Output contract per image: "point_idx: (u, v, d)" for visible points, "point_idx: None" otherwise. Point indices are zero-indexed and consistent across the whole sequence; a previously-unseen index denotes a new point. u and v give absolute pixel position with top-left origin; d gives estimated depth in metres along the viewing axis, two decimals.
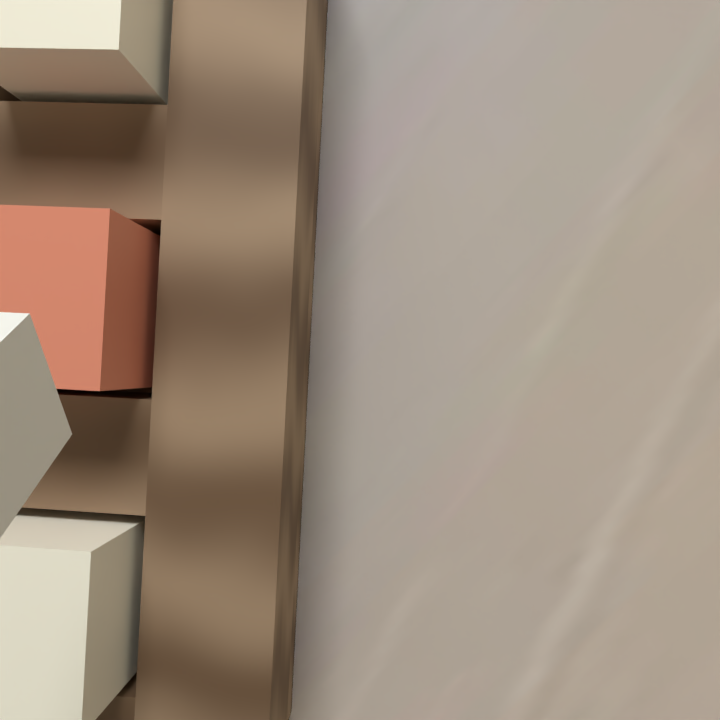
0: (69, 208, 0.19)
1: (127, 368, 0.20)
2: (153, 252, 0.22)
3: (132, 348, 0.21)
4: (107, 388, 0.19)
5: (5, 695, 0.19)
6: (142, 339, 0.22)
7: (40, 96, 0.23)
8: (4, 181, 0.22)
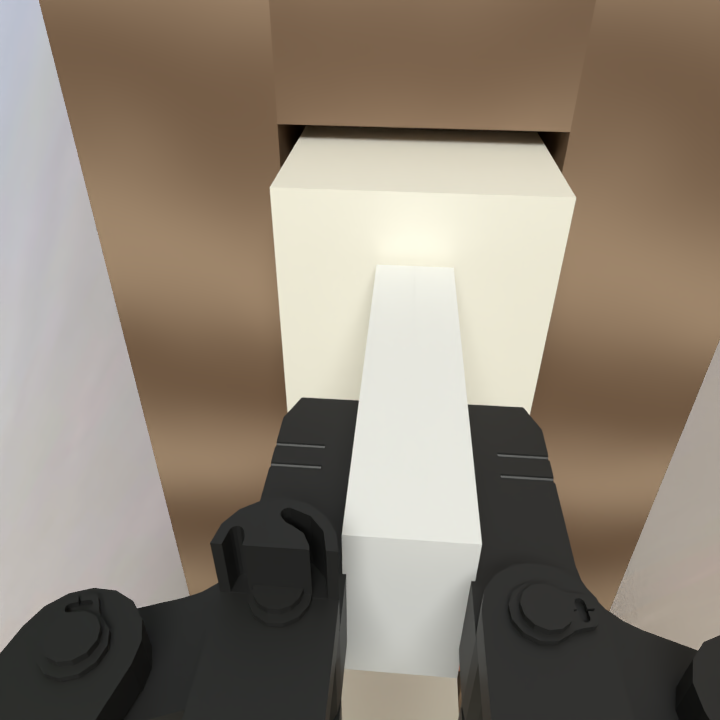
0: None
1: None
2: None
3: None
4: None
5: None
6: None
7: None
8: None
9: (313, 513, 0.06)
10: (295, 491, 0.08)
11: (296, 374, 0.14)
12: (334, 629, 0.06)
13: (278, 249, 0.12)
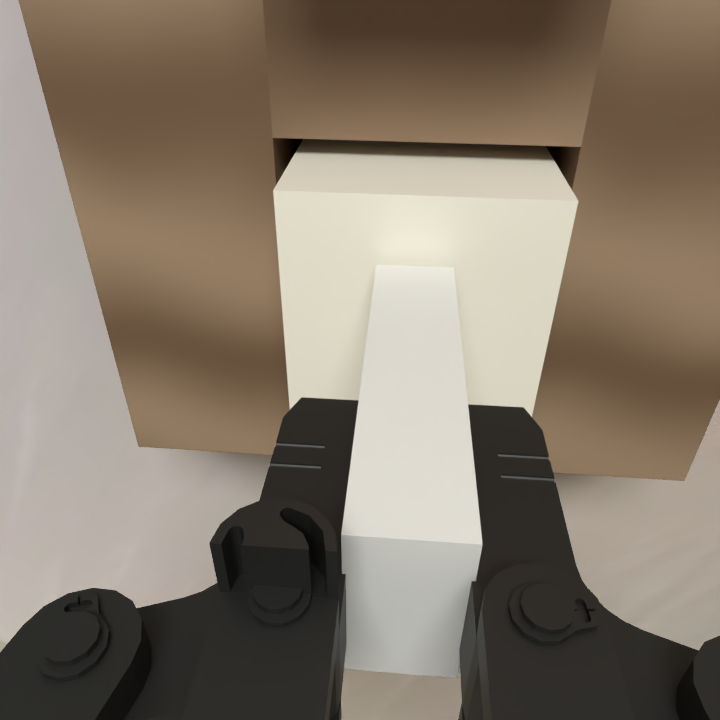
0: None
1: None
2: None
3: None
4: None
5: None
6: None
7: None
8: None
9: (312, 513, 0.06)
10: (295, 491, 0.08)
11: None
12: (333, 629, 0.06)
13: None
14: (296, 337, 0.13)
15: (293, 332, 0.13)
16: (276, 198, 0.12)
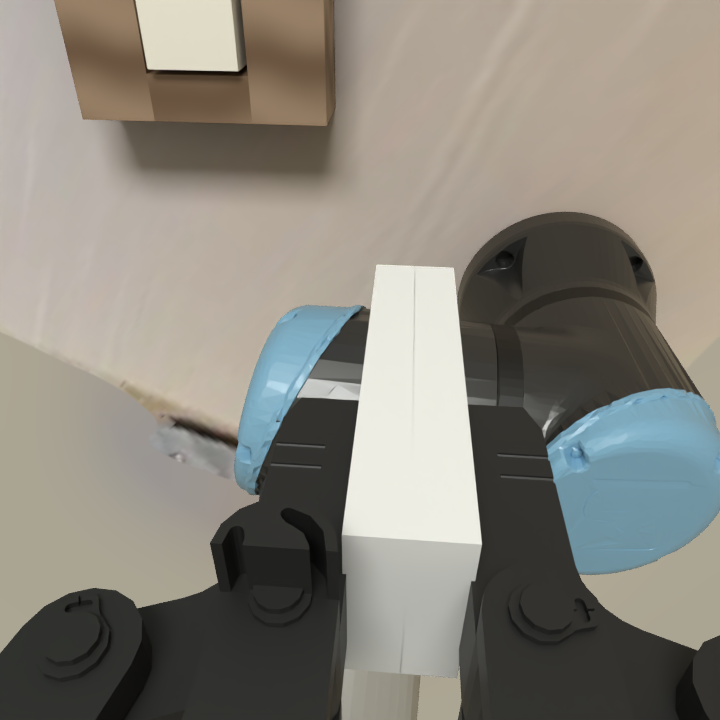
0: None
1: None
2: None
3: None
4: None
5: (195, 51, 0.36)
6: None
7: None
8: None
9: (314, 513, 0.06)
10: (295, 491, 0.08)
11: None
12: (334, 629, 0.06)
13: None
14: (144, 25, 0.36)
15: (142, 23, 0.36)
16: None
